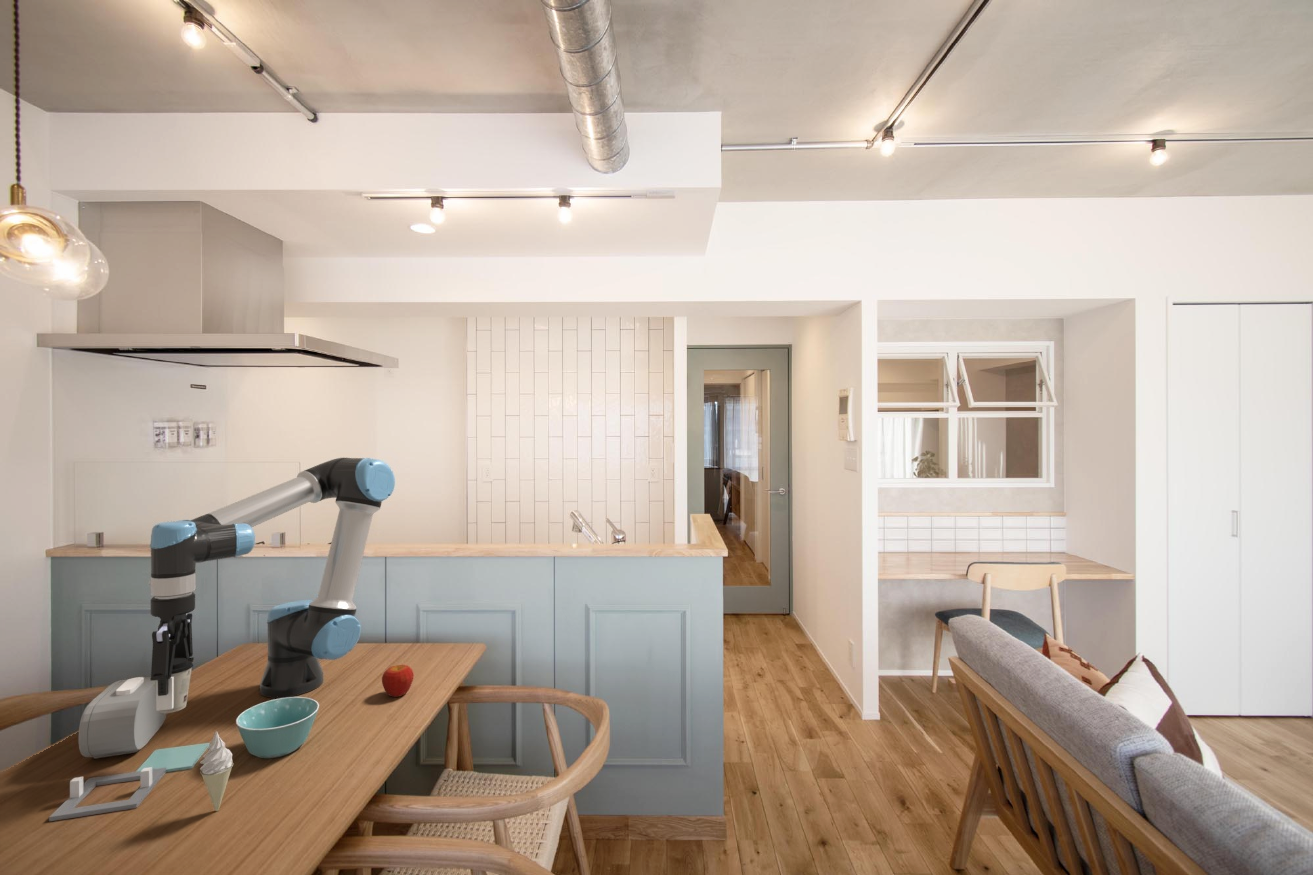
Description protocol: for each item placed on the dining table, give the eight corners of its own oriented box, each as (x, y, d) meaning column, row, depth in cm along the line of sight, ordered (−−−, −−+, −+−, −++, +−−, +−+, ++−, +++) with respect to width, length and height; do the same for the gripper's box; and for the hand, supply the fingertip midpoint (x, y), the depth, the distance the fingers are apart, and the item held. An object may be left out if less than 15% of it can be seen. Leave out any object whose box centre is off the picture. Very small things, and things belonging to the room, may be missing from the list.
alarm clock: (120, 725, 146) (120, 670, 146) (169, 719, 150) (169, 664, 150) (77, 770, 127) (77, 706, 127) (134, 761, 131) (134, 699, 130)
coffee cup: (200, 705, 133) (200, 659, 133) (163, 718, 126) (163, 670, 126) (181, 698, 136) (181, 653, 136) (144, 711, 129) (144, 664, 129)
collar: (166, 771, 127) (166, 751, 127) (136, 807, 115) (136, 786, 115) (89, 782, 123) (89, 762, 123) (49, 821, 111) (49, 799, 111)
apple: (375, 697, 163) (375, 668, 163) (398, 686, 170) (398, 658, 170) (397, 702, 160) (397, 673, 160) (419, 690, 167) (419, 662, 167)
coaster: (209, 745, 138) (209, 742, 138) (191, 768, 128) (191, 765, 128) (155, 752, 134) (155, 749, 134) (133, 776, 125) (133, 774, 125)
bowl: (334, 737, 142) (334, 702, 141) (272, 773, 127) (272, 734, 127) (284, 726, 147) (284, 692, 147) (218, 759, 132) (218, 721, 132)
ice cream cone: (211, 802, 117) (211, 724, 116) (239, 801, 117) (239, 723, 117) (193, 819, 112) (193, 738, 111) (222, 818, 112) (223, 737, 112)
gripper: (172, 584, 139) (171, 685, 139) (128, 608, 120) (128, 725, 120) (211, 582, 141) (210, 681, 142) (174, 605, 123) (174, 719, 123)
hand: (172, 701), depth 131 cm, fingers closed on coffee cup, 7 cm apart
